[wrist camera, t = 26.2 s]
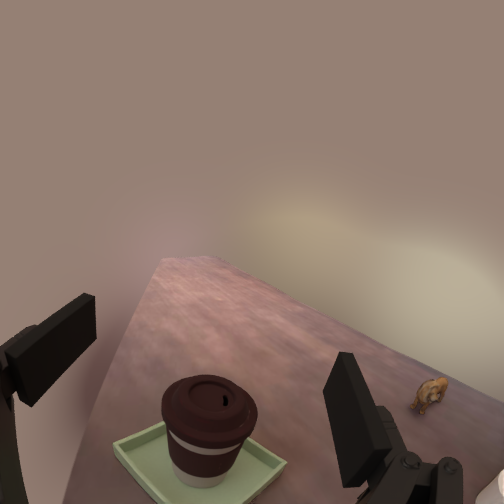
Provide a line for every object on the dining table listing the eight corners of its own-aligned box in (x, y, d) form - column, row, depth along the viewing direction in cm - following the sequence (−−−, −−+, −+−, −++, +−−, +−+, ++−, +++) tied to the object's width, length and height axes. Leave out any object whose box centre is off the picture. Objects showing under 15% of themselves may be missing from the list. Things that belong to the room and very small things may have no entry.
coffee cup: (146, 468, 27) (140, 392, 24) (191, 431, 36) (201, 354, 33) (210, 510, 23) (228, 448, 20) (249, 464, 32) (276, 391, 28)
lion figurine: (419, 425, 42) (441, 391, 40) (401, 412, 46) (420, 378, 44) (443, 398, 50) (461, 368, 48) (427, 388, 54) (444, 358, 52)
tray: (114, 455, 28) (112, 443, 27) (200, 414, 41) (202, 401, 40) (198, 540, 19) (200, 534, 18) (281, 473, 32) (287, 462, 31)
